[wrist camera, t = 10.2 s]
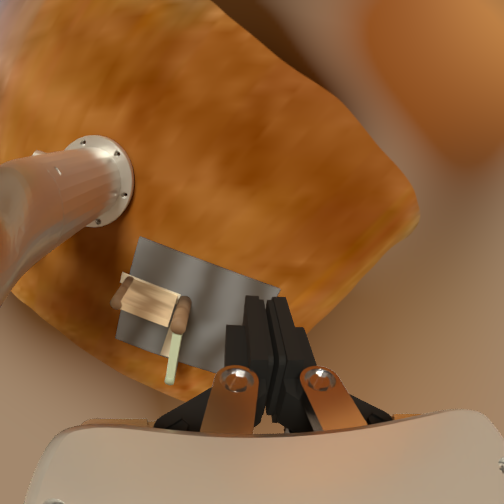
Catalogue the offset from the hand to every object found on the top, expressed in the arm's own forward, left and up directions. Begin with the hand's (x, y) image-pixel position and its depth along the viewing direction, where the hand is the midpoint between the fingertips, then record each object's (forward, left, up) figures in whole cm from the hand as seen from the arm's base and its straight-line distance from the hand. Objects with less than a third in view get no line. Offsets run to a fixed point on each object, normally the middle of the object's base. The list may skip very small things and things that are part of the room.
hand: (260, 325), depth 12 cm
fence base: (-1, -20, -27) cm, 33 cm away
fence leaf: (-1, -23, -26) cm, 35 cm away
